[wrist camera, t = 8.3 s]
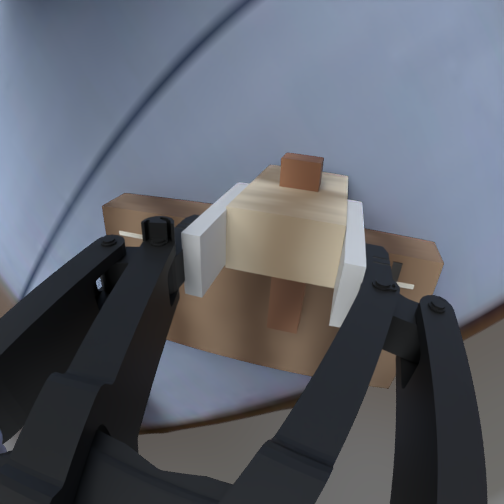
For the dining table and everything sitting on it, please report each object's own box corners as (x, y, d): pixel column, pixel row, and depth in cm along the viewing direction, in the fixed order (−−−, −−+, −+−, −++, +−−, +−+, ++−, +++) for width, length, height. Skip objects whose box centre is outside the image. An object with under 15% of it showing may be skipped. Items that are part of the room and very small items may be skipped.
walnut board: (141, 307, 31) (125, 326, 28) (124, 193, 25) (101, 206, 23) (387, 363, 26) (388, 389, 23) (434, 242, 20) (444, 264, 17)
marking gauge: (261, 287, 25) (226, 361, 18) (271, 141, 20) (226, 172, 13) (325, 299, 24) (310, 381, 17) (351, 152, 18) (352, 190, 12)
